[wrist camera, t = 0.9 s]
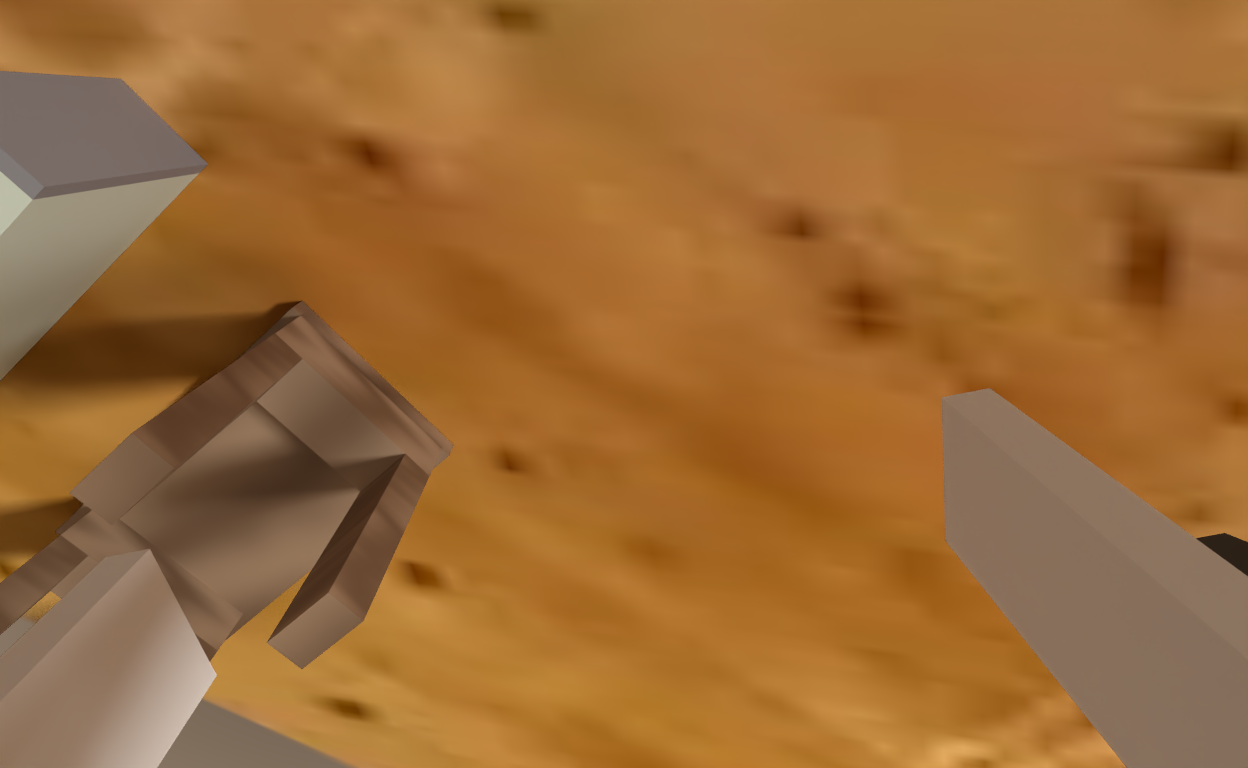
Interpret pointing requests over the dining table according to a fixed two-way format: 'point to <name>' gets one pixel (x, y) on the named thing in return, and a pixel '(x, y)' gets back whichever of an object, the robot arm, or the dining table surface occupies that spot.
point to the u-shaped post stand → (256, 494)
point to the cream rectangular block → (74, 192)
